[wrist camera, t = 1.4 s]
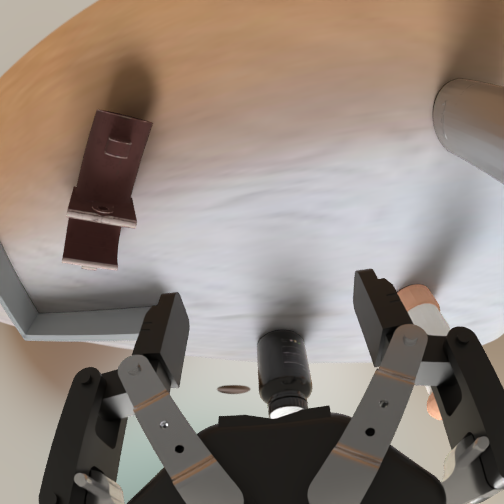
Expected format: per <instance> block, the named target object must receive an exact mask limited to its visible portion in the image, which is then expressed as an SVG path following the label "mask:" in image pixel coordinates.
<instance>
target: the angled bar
mask: <svg viewBox="0 0 504 504" xmlns="http://www.w3.org/2000/svg"><path fill="white" fill-rule="evenodd" d="M0 303H1V305H2V307H3V308H4V310H5V311H6V313H7V315H8V316H9V318H10V319H11V321H12V322H13V324H14V325H15V327H16V328H17V330H18V331H19V333H20V334H21V335H22V337H23V338H24V340H31V341H32V340H33V341H134V340H137V338H138V335H139V332H140V329H141V326H142V324H143V320H144V317H145V314H146V313H147V312H148V310H149V309H150V308H151V307H152V306H151V307H139V308H126V309H112V310H97V311H80V312H61V313H38V311H37V310H36V308H35V306H34V305H33V303H32V301H31V300H30V298H29V296H28V295H27V293H26V291H25V289H24V287H23V286H22V284H21V282H20V280H19V278H18V276H17V275H16V273H15V271H14V269H13V267H12V265H11V263H10V261H9V259H8V257H7V255H6V253H5V251H4V249H3V246H2V244H1V242H0Z"/></svg>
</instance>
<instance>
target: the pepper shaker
mask: <svg viewBox="0 0 504 504" xmlns="http://www.w3.org/2000/svg"><path fill="white" fill-rule="evenodd" d="M397 294H398V295H399V297H400V299H401V301H402V303H403V305H404V306H405V308H406V310H407V312H408V314H409V316H410V318H411V320H412V322H413V324H414V325H417V326H419V327H421V328H422V329H423V330H424V331H425V332H426V334H428V335H434V336H447V334H448V332H449V331H450V328H449V325H448V323H447V322H446V320H445V319H444V317H443V316H442V314H441V313H440V307H439V304H438V303H437V301H436V299H435V298H434V296H433V295H432V293H431V292H430V290H429V289H428V288H427V287H426V286H424V285H421V284H414V285H410V286H407V287H405V288H403V289H401V290H400V291H399V292H397ZM425 387H426V389H427V391H428V394H429V398H428V401H427V411H428V413H429V414H430V415H431V416H432V417H434V418H435V419H437V420H442V417H441V414H440V411H439V408H438V405H437V403H436V400H435V397H434V394H433V391H432V389H431V386H425Z"/></svg>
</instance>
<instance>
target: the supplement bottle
mask: <svg viewBox="0 0 504 504" xmlns="http://www.w3.org/2000/svg"><path fill="white" fill-rule="evenodd" d="M257 360H258V379H259V394H260V397H261V398H262V400H263V401H264V402H265V403H267V404H268V405H267V408H268V412H269V418H270V419H275V418H279V417H282V416H285V415H288V414H291V413H293V412H296V411H299V410H302V409H308V406H307V403H308V402H307V398H308V397H309V396H310V394H311V392H312V381H311V375H310V370H309V365H308V360H307V354H306V349H305V345H304V341H303V339H302V337H301V336H300V335H299V334H297V333H295V332H293V331H290V330H276V331H273V332H270V333H268V334H266V335H265V336H263V337H262V338H261V339H260V341H259V343H258V345H257Z"/></svg>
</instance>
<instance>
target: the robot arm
mask: <svg viewBox="0 0 504 504" xmlns="http://www.w3.org/2000/svg"><path fill="white" fill-rule="evenodd" d="M433 121H434V127H435V131H436V134H437V136H438V139H439V141H440V142H441V143H442V145H443V146H444V147H445V148H446V149H447V150H448V151H449V152H451V153H453V154H455V155H456V156H458V157H460V158H462V159H463V160H465V161H467V162H469V163H470V164H472V165H473V166H475V167H477V168H478V169H480V170H482V171H483V172H485V173H487V174H488V175H490V176H491V177H493V178H495V179H496V180H498V181H499V182H501V183H502V184H504V87H502V86H498V85H493V84H489V83H484V82H479V81H473V80H467V79H455V80H452V81H450V82H448V83H447V84H446V85H445V86H443V88H442V89H441V90H440V92H439V94H438V96H437V98H436V100H435V104H434V110H433ZM353 304H354V309H355V313H356V315H357V318H358V321H359V324H360V327H361V329H362V332H363V335H364V338H365V341H366V344H367V347H368V350H369V352H370V355H371V358H372V361H373V364H374V367H379V366H380V367H379V369H377V370H376V371H375V373H374V375H373V377H372V380H371V382H370V384H369V386H368V388H367V390H366V392H365V394H364V396H363V398H362V400H361V402H360V404H359V405H358V407H357V409H356V411H355V413H354V415H353V417H349V416H346V415H343V414H338V413H331V412H330V407H329V406H323V407H316V408H309V409H302V410H299V411H296V412H293V413H291V414H288V415H285V416H282V417H279V418H275V419H270V418H263V417H256V416H248V415H236V416H219V422H218V424H215V425H213V426H210V427H208V428H206V429H204V430H202V431H201V432H199V433H198V434H196V433H195V431H194V430H193V428H192V427H191V426H190V424H189V423H188V421H187V420H186V418H185V417H184V416H183V414H182V413H181V411H180V410H179V408H178V407H177V405H176V404H175V402H174V401H173V399H172V398H171V396H170V388H179V385H180V379H181V373H182V367H183V362H184V356H185V351H186V345H187V340H188V334H189V319H188V316H187V313H186V310H185V307H184V305H183V302H182V299H181V296H180V294H179V293H178V292H175V293H165V294H161V296H160V299H159V302H158V305H157V306H152V307H151V308H150V309H149V310H148V312H147V313H146V314H145V317H144V320H143V324H142V326H141V329H140V332H139V335H138V338H137V341H136V344H135V347H134V350H133V353H132V356H129V357H127V358H126V359H124V360H123V361H122V362H121V364H120V365H119V367H118V369H117V370H114V371H111V372H107V373H103V374H101V373H100V372H99V371H98V370H97V369H96V368H93V367H88V368H85V369H82V370H81V371H79V372H78V373H77V374H76V376H75V377H74V380H73V382H72V385H71V388H70V390H69V393H68V396H67V399H66V402H65V405H64V408H63V411H62V414H61V417H60V420H59V423H58V426H57V429H56V433H55V436H54V439H53V443H52V446H51V450H50V454H49V458H48V461H47V465H46V468H45V472H44V476H43V481H42V485H41V489H40V494H39V504H124V499H123V491H122V489H121V487H120V486H119V485H118V484H117V483H116V479H117V473H118V467H119V461H120V455H121V450H122V444H123V439H124V434H125V428H126V424H127V419H128V416H132V415H136V418H137V420H138V422H139V423H140V425H141V427H142V429H143V431H144V433H145V435H146V436H147V438H148V440H149V442H150V443H151V445H152V447H153V449H154V451H155V452H156V454H157V456H158V457H159V459H160V461H161V462H162V464H163V466H164V468H163V469H162V470H161V471H160V472H159V473H158V474H157V475H156V476H155V477H154V478H153V479H152V480H151V481H150V482H149V483H148V484H147V485H146V486H145V487H143V488H142V489H141V490H140V491H139V492H138V493H137V494H136V495H135V496H134V497H133V498H132V499H131V500H130V501H129V502H128V503H127V504H467V503H469V502H470V503H473V504H477V503H481V502H483V501H485V500H486V499H488V498H490V497H492V496H493V495H495V494H497V493H498V492H500V491H502V490H504V389H503V387H502V385H501V383H500V381H499V378H498V377H497V374H496V372H495V370H494V368H493V366H492V365H491V362H490V360H489V359H488V357H487V355H486V353H485V351H484V349H483V347H482V345H481V344H480V342H479V340H478V338H477V336H476V335H475V333H474V332H473V331H471V330H470V329H468V328H466V327H454V328H452V329H451V330H450V331H449V332H448V334H447V336H434V335H428V334H426V332H425V331H424V330H423V329H422V328H421V327H419V326H417V325H414V324H413V322H412V320H411V318H410V316H409V314H408V312H407V310H406V308H405V306H404V305H403V303H402V301H401V299H400V297H399V295H398V294H397V292H396V290H395V288H394V286H393V284H391V283H390V282H389V281H387V280H386V279H385V278H382V279H378V278H377V276H376V274H375V272H374V271H373V269H365V270H358V271H355V277H354V293H353ZM414 385H423V386H431V389H432V391H433V394H434V397H435V400H436V403H437V405H438V408H439V411H440V414H441V417H442V420H443V423H444V427H445V430H446V433H447V436H448V439H449V443H450V446H451V449H452V451H451V452H450V453H449V454H448V455H447V457H446V458H445V461H444V477H443V479H442V481H441V482H440V481H439V480H438V479H437V478H436V477H435V476H434V475H432V474H431V473H429V472H428V471H427V470H425V469H423V468H422V467H421V466H419V465H418V464H416V463H415V462H414V461H412V460H411V459H409V458H408V457H407V456H405V455H404V454H402V453H401V452H400V451H398V450H397V449H396V448H394V447H393V446H391V445H390V443H391V441H392V439H393V437H394V435H395V432H396V430H397V428H398V425H399V423H400V421H401V418H402V416H403V413H404V410H405V408H406V405H407V403H408V400H409V397H410V395H411V392H412V390H413V386H414Z"/></svg>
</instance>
